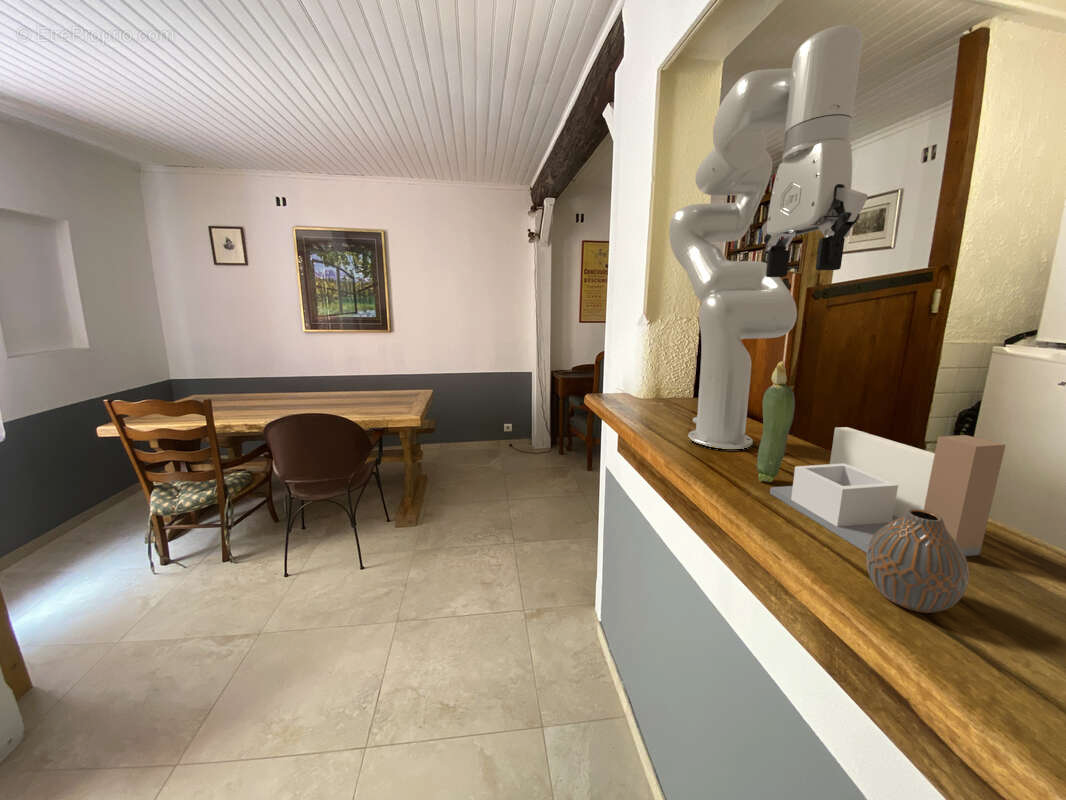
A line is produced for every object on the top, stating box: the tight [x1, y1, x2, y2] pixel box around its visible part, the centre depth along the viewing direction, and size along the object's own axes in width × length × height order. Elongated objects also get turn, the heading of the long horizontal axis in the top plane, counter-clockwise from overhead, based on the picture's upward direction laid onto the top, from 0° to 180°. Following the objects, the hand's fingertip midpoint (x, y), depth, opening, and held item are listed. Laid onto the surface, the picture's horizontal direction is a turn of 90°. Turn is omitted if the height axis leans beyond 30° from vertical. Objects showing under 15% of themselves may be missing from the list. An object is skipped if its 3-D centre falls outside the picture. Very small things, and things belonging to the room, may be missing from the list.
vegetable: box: [756, 360, 796, 483], centre depth 63 cm, size 4×4×20 cm
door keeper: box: [769, 426, 1007, 557], centre depth 52 cm, size 18×12×13 cm, turn 7°
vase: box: [865, 509, 970, 614], centre depth 37 cm, size 7×7×9 cm
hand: (799, 273), depth 58 cm, fingers open, 9 cm apart
